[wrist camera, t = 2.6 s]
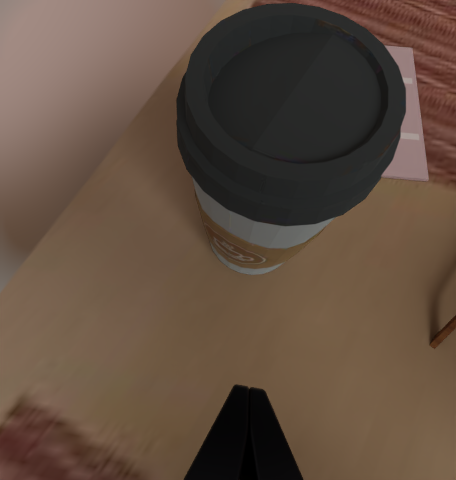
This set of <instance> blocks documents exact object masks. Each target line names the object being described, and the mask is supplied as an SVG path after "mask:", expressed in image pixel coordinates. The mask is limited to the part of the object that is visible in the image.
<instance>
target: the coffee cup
mask: <svg viewBox="0 0 456 480" xmlns="http://www.w3.org/2000/svg"><path fill="white" fill-rule="evenodd" d="M176 101H177V140H178V147H179V150H180V153H181V155H182V158H183V161H184V163H185V166H186V169H187V170H188V172H189V173H190V174H191V176H192V179H193V183H194V186H195V196H196V200H197V203H198V206H199V210H200V213H201V217H202V220H203V224H204V227H205V230H206V233H207V235H208V238H209V241H210V244H211V246H212V249H213V252H214V253H215V254H216V256H217V257H218V258H219V260H220V261H221V262H223V263H224V264H225V265H226V266H227V267H229V268H231V269H233V270H235V271H237V272H239V273H244V274H249V275H255V274H264V273H267V272H270V271H272V270H274V269H276V268H277V267H279V266H280V265H282V264H283V263H284V262H285V261H287V260H288V259H290V258H291V257H292V256H294V255H295V254H296V253H298V252H299V251H300V250H301V249H302V248H304V247H305V246H306V245H307V244H308V243H309V242H311V241H312V240H313V239H314V238H315V237H317V236H318V235H319V234H320V233H321V232H322V231H323V229H324V228H325V227H326V225H327V224H329V223H330V222H331V221H332V220H333V219H334V218H335V217H337V216H340V215H343V214H344V213H346V212H347V211H349V210H350V209H351V208H353V207H354V206H356V205H357V204H359V203H360V202H361V201H363V200H364V199H365V198H366V197H367V196H368V194H369V193H370V192H371V190H372V189H373V188H374V186H375V185H376V184H377V183H378V181H379V180H380V178H381V176H382V174H383V173H384V171H385V170H386V169H387V167H388V166H389V165H390V163H391V162H392V160H393V158H394V155H395V152H396V149H397V146H398V143H399V140H400V137H401V125H402V122H403V120H404V117H405V114H406V87H405V84H404V81H403V78H402V75H401V72H400V69H399V66H398V65H397V63H396V62H395V60H394V59H393V57H392V56H391V54H390V53H389V51H388V50H387V48H386V47H385V46H384V45H383V44H382V43H381V42H380V41H379V40H378V39H377V38H376V37H375V36H374V35H372V34H371V33H370V32H369V31H368V30H367V29H366V28H364V27H362V26H360V25H359V24H357V23H355V22H354V21H352V20H350V19H349V18H347V17H345V16H343V15H340V14H337V13H335V12H332V11H329V10H326V9H323V8H320V7H315V6H309V5H302V4H296V3H283V4H266V5H262V6H257V7H253V8H249V9H245V10H242V11H240V12H238V13H236V14H234V15H232V16H230V17H228V18H226V19H224V20H222V21H220V22H219V23H218V24H217V25H216V26H214V27H213V28H212V29H211V30H210V31H209V32H207V33H206V34H205V35H204V36H203V37H202V39H201V40H200V42H199V43H198V45H197V47H196V48H195V50H194V51H193V53H192V54H191V57H190V61H189V64H188V68H187V72H186V73H185V75H184V76H183V78H182V82H181V86H180V89H179V93H178V97H177V100H176Z"/></svg>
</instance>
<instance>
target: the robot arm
mask: <svg viewBox="0 0 456 480" xmlns="http://www.w3.org/2000/svg"><path fill="white" fill-rule="evenodd" d="M184 480H303V477H302V475H301V473H300V470H299V468H298V466H297V463H296V461H295V459H294V456H293V454H292V452H291V449H290V447H289V445H288V443H287V440H286V438H285V436H284V433H283V431H282V429H281V426H280V424H279V422H278V419H277V417H276V415H275V412H274V410H273V408H272V406H271V403H270V401H269V399H268V396H267V394H266V392H265V391H264V390H263V389H259V388H254V387H251V388H250V389H249V388H248V387H247V386H243V385H237V384H236V385H234V386H233V388H232V390H231V392H230V394H229V396H228V397H227V399H226V401H225V403H224V405H223V407H222V409H221V411H220V412H219V414H218V416H217V418H216V420H215V422H214V424H213V426H212V427H211V429H210V431H209V433H208V435H207V437H206V439H205V441H204V442H203V444H202V446H201V448H200V450H199V452H198V454H197V455H196V457H195V459H194V461H193V463H192V465H191V467H190V469H189V470H188V472H187V474H186V476H185V478H184Z"/></svg>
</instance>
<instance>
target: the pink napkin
mask: <svg viewBox="0 0 456 480" xmlns="http://www.w3.org/2000/svg"><path fill="white" fill-rule="evenodd" d="M385 47H386V48H387V50H388V51H389V53H390V54H391V56H392V57H393V59H394V60H395V62H396V63H397V65H398V66H399V69H400V72H401V75H402V78H403V81H404V84H405V87H406V114H405V117H404V120H403V122H402V125H401V137H400V140H399V143H398V146H397V149H396V152H395V155H394V158H393V160H392V162H391V163H390V165H389V166H388V167H387V169H386V170H385V171H384V173H383V174H382V176H381V177H384V178H395V179H406V180H417V181H428V180H429V177H428V169H427V162H426V154H425V146H424V138H423V130H422V122H421V114H420V106H419V98H418V90H417V82H416V74H415V66H414V58H413V50H412V48H406V47H395V46H385Z"/></svg>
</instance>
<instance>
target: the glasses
mask: <svg viewBox="0 0 456 480" xmlns="http://www.w3.org/2000/svg"><path fill="white" fill-rule="evenodd" d="M455 328H456V315H455V316H454V317H453V318H452V319H451V320H450V321H449V322H448V323H447V325H446V326H445V327H444V328H443V329H442V330H441V331H440V332H439V333H438V334H437V335H436V336H435V337H434V339H433V341H432V342H431V344H430V346H431V347H433V348H434V349H435V348H436V347H437V346H438V345H439V344H440V343H441V342H442V341H443V340H444V339H445V338H446V337H447V336H448V335H449V334H450V333H451V332H452V331H453V330H454V329H455Z"/></svg>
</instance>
